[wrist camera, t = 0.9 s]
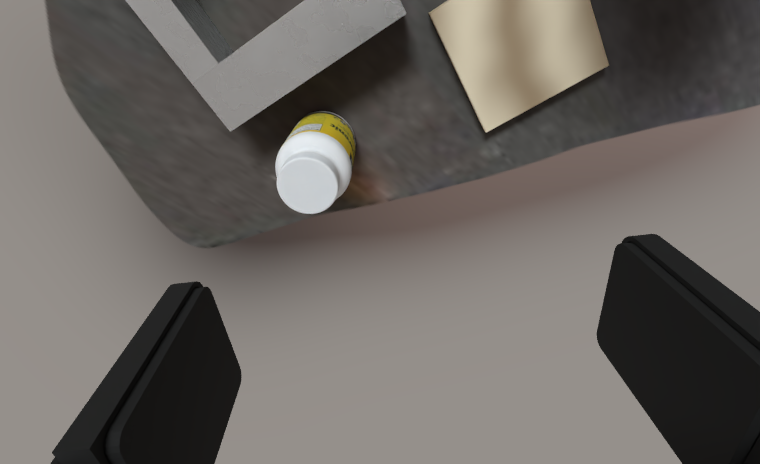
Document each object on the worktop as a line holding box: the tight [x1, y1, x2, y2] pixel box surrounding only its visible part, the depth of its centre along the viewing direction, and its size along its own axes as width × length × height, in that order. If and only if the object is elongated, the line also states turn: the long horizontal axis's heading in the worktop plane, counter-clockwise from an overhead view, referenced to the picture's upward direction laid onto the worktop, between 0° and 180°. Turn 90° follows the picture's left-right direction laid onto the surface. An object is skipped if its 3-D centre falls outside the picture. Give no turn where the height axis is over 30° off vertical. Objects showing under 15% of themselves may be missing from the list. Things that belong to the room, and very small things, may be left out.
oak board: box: [428, 0, 609, 133], centre depth 30 cm, size 10×10×1 cm
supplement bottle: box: [275, 111, 356, 214], centre depth 30 cm, size 5×5×10 cm
